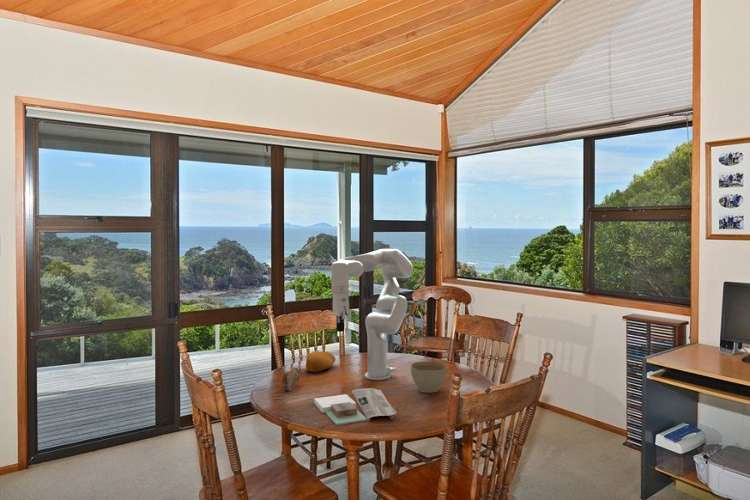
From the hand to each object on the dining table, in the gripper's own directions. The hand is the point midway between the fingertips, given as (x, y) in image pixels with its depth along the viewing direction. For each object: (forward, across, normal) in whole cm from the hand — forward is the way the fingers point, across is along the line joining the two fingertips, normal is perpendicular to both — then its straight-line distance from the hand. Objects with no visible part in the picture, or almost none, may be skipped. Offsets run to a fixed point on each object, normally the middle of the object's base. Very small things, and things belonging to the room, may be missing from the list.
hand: (340, 331), depth 219 cm
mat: (+27, -29, +8) cm, 41 cm away
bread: (+27, +41, -3) cm, 49 cm away
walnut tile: (+26, -27, +8) cm, 38 cm away
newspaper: (+28, -22, -7) cm, 36 cm away
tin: (+27, +15, +19) cm, 37 cm away
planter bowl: (+27, -13, -37) cm, 48 cm away
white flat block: (+27, -16, +8) cm, 32 cm away
